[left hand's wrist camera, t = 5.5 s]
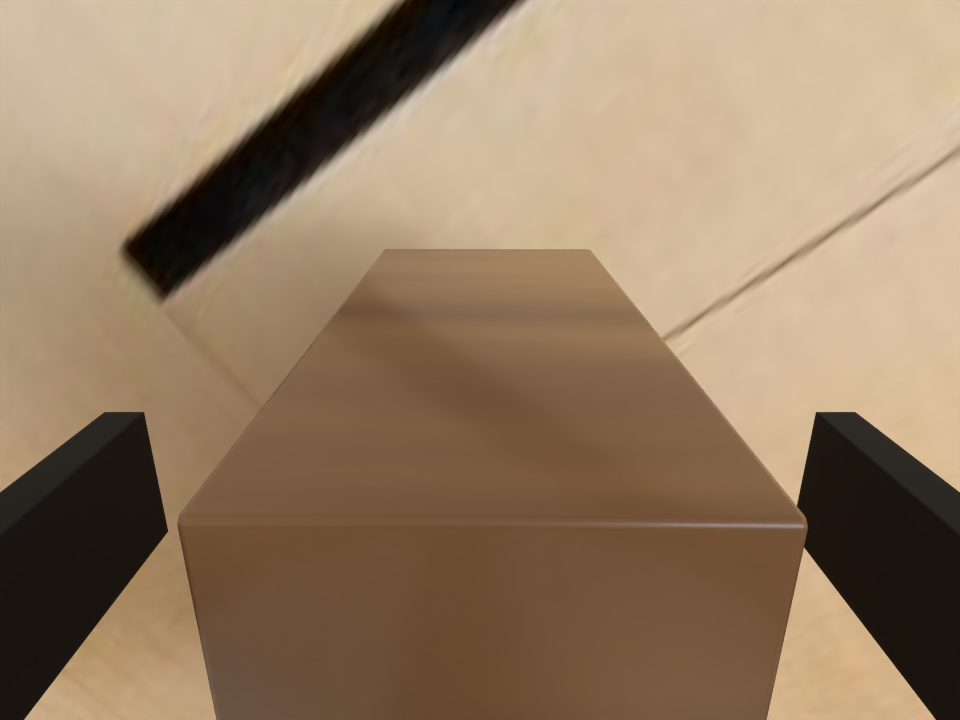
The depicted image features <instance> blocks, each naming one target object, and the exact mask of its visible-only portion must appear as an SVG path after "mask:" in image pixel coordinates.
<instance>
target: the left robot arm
mask: <svg viewBox="0 0 960 720" xmlns="http://www.w3.org/2000/svg"><path fill="white" fill-rule="evenodd" d="M797 507H798V508H799V510H800V511H801V512H802V513H803V515H804V516H805V517H806V521H807V525H808V530H807V535H806V539H805V544H804V548H805V549H806V550H807V552H808V553H809V554H810V556H811V557H812V558H813V560H814V561H815V562H816V563H817V565H818V566H819V567H820V569H821V570H822V571H823V573H824V574H825V575H826V576H827V578H828V579H829V580H830V582H831V583H832V584H833V586H834V587H835V588H836V590H837V591H838V592H839V593H840V595H841V596H842V597H843V599H844V600H845V601H846V603H847V604H848V605H849V607H850V608H851V609H852V610H853V612H854V613H855V614H856V616H857V617H858V618H859V620H860V621H861V622H862V624H863V625H864V626H865V627H866V629H867V630H868V631H869V633H870V634H871V635H872V637H873V638H874V639H875V641H876V642H877V643H878V644H879V646H880V647H881V648H882V650H883V651H884V652H885V654H886V655H887V656H888V658H889V659H890V660H891V661H892V663H893V664H894V665H895V667H896V668H897V669H898V671H899V672H900V673H901V675H902V676H903V677H904V678H905V680H906V681H907V682H908V684H909V685H910V686H911V688H912V689H913V690H914V691H915V693H916V694H917V695H918V697H919V698H920V699H921V701H922V702H923V703H924V705H925V706H926V707H927V708H928V710H929V711H930V712H931V714H932V715H933V716H934V718H935V719H936V720H960V492H958V491H957V490H956V489H955V488H953V487H952V486H951V485H949V484H948V483H947V482H945V481H944V480H943V479H942V478H940V477H939V476H938V475H936V474H935V473H934V472H932V471H931V470H930V469H929V468H927V467H926V466H925V465H923V464H922V463H921V462H919V461H918V460H917V459H916V458H914V457H913V456H912V455H910V454H909V453H908V452H906V451H905V450H904V449H903V448H901V447H900V446H899V445H897V444H896V443H895V442H893V441H892V440H891V439H890V438H888V437H887V436H886V435H884V434H883V433H882V432H880V431H879V430H878V429H877V428H875V427H874V426H873V425H871V424H870V423H869V422H867V421H866V420H865V419H864V418H862V417H861V416H860V415H858V414H857V413H856V412H816V415H815V420H814V425H813V430H812V435H811V440H810V445H809V450H808V455H807V459H806V464H805V469H804V474H803V479H802V484H801V489H800V494H799V499H798V504H797ZM167 532H168V528H167V523H166V518H165V513H164V509H163V504H162V499H161V494H160V489H159V484H158V479H157V474H156V469H155V464H154V459H153V455H152V450H151V445H150V440H149V435H148V430H147V425H146V420H145V415H144V412H104V413H103V414H102V415H100V416H99V417H98V418H96V419H95V420H94V421H93V422H91V423H90V424H89V425H87V426H86V427H85V428H83V429H82V430H81V431H80V432H78V433H77V434H76V435H74V436H73V437H72V438H70V439H69V440H68V441H67V442H65V443H64V444H63V445H61V446H60V447H59V448H57V449H56V450H55V451H54V452H52V453H51V454H50V455H48V456H47V457H46V458H44V459H43V460H42V461H41V462H39V463H38V464H37V465H35V466H34V467H33V468H31V469H30V470H29V471H28V472H26V473H25V474H24V475H22V476H21V477H20V478H18V479H17V480H16V481H15V482H13V483H12V484H11V485H9V486H8V487H7V488H5V489H4V490H3V491H2V492H0V720H24V719H25V718H26V716H27V715H28V714H29V712H30V711H31V710H32V708H33V707H34V706H35V705H36V703H37V702H38V701H39V699H40V698H41V697H42V695H43V694H44V693H45V691H46V690H47V689H48V688H49V686H50V685H51V684H52V682H53V681H54V680H55V678H56V677H57V676H58V675H59V673H60V672H61V671H62V669H63V668H64V667H65V665H66V664H67V663H68V661H69V660H70V659H71V658H72V656H73V655H74V654H75V652H76V651H77V650H78V648H79V647H80V646H81V644H82V643H83V642H84V641H85V639H86V638H87V637H88V635H89V634H90V633H91V631H92V630H93V629H94V627H95V626H96V625H97V624H98V622H99V621H100V620H101V618H102V617H103V616H104V614H105V613H106V612H107V610H108V609H109V608H110V607H111V605H112V604H113V603H114V601H115V600H116V599H117V597H118V596H119V595H120V593H121V592H122V591H123V590H124V588H125V587H126V586H127V584H128V583H129V582H130V580H131V579H132V578H133V576H134V575H135V574H136V573H137V571H138V570H139V569H140V567H141V566H142V565H143V563H144V562H145V561H146V560H147V558H148V557H149V556H150V554H151V553H152V552H153V550H154V549H155V548H156V546H157V545H158V544H159V543H160V541H161V540H162V539H163V537H164V536H165V535H166V533H167Z"/></svg>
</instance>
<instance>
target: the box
mask: <svg viewBox="0 0 960 720" xmlns="http://www.w3.org/2000/svg"><path fill="white" fill-rule="evenodd" d="M178 530H179V535H180V540H181V545H182V550H183V555H184V560H185V565H186V570H187V575H188V580H189V585H190V590H191V595H192V600H193V605H194V610H195V615H196V620H197V625H198V629H199V634H200V639H201V644H202V649H203V654H204V659H205V664H206V669H207V674H208V679H209V684H210V689H211V694H212V699H213V704H214V709H215V714H216V719H217V720H766V719H767V715H768V710H769V705H770V701H771V696H772V692H773V687H774V682H775V678H776V673H777V669H778V664H779V659H780V655H781V650H782V645H783V641H784V636H785V632H786V627H787V622H788V618H789V613H790V608H791V604H792V599H793V595H794V590H795V585H796V581H797V576H798V572H799V567H800V562H801V558H802V553H803V548H804V544H805V539H806V535H807V530H808V525H807V521H806V517H805V516H804V515H803V513H802V512H801V511H800V510H799V508H798V507H797V506H796V505H795V503H794V502H793V501H792V500H791V498H790V497H789V496H788V495H787V494H786V492H785V491H784V490H783V489H782V487H781V486H780V485H779V484H778V482H777V481H776V480H775V479H774V477H773V476H772V475H771V474H770V472H769V471H768V470H767V469H766V467H765V466H764V465H763V464H762V462H761V461H760V460H759V459H758V458H757V456H756V455H755V454H754V453H753V451H752V450H751V449H750V448H749V446H748V445H747V444H746V443H745V441H744V440H743V439H742V438H741V436H740V435H739V434H738V433H737V431H736V430H735V429H734V428H733V426H732V425H731V424H730V423H729V421H728V420H727V419H726V418H725V417H724V415H723V414H722V413H721V412H720V410H719V409H718V408H717V407H716V405H715V404H714V403H713V402H712V400H711V399H710V398H709V397H708V395H707V394H706V393H705V392H704V390H703V389H702V388H701V387H700V385H699V384H698V383H697V382H696V381H695V379H694V378H693V377H692V376H691V374H690V373H689V372H688V371H687V369H686V368H685V367H684V366H683V364H682V363H681V362H680V361H679V359H678V358H677V357H676V356H675V354H674V353H673V352H672V351H671V349H670V348H669V347H668V346H667V345H666V343H665V342H664V341H663V340H662V338H661V337H660V336H659V335H658V333H657V332H656V331H655V330H654V328H653V327H652V326H651V325H650V323H649V322H648V321H647V320H646V318H645V317H644V316H643V315H642V313H641V312H640V311H639V310H638V309H637V307H636V306H635V305H634V304H633V302H632V301H631V300H630V299H629V297H628V296H627V295H626V294H625V292H624V291H623V290H622V289H621V287H620V286H619V285H618V284H617V282H616V281H615V280H614V279H613V277H612V276H611V275H610V274H609V273H608V271H607V270H606V269H605V268H604V266H603V265H602V264H601V263H600V261H599V260H598V259H597V258H596V256H595V255H594V254H593V253H592V251H591V250H487V249H387V250H384V252H383V253H382V254H381V255H380V257H379V258H378V259H377V261H376V262H375V263H374V265H373V266H372V267H371V268H370V270H369V271H368V272H367V274H366V275H365V276H364V277H363V279H362V280H361V281H360V283H359V284H358V285H357V286H356V288H355V289H354V290H353V292H352V293H351V294H350V296H349V297H348V298H347V299H346V301H345V302H344V303H343V305H342V306H341V307H340V308H339V310H338V311H337V312H336V314H335V315H334V316H333V317H332V319H331V320H330V321H329V323H328V324H327V325H326V326H325V328H324V329H323V330H322V332H321V333H320V334H319V336H318V337H317V338H316V339H315V341H314V342H313V343H312V345H311V346H310V347H309V348H308V350H307V351H306V352H305V354H304V355H303V356H302V357H301V359H300V360H299V361H298V363H297V364H296V365H295V367H294V368H293V369H292V370H291V372H290V373H289V374H288V376H287V377H286V378H285V379H284V381H283V382H282V383H281V385H280V386H279V387H278V388H277V390H276V391H275V392H274V394H273V395H272V396H271V398H270V399H269V400H268V401H267V403H266V404H265V405H264V407H263V408H262V409H261V410H260V412H259V413H258V414H257V416H256V417H255V418H254V419H253V421H252V422H251V423H250V425H249V426H248V427H247V428H246V430H245V431H244V432H243V434H242V435H241V436H240V438H239V439H238V440H237V441H236V443H235V444H234V445H233V447H232V448H231V449H230V450H229V452H228V453H227V454H226V456H225V457H224V458H223V459H222V461H221V462H220V463H219V465H218V466H217V467H216V469H215V470H214V471H213V472H212V474H211V475H210V476H209V478H208V479H207V480H206V481H205V483H204V484H203V485H202V487H201V488H200V489H199V490H198V492H197V493H196V494H195V496H194V497H193V498H192V500H191V501H190V502H189V503H188V505H187V506H186V507H185V509H184V510H183V511H182V512H181V514H180V516H179V519H178Z"/></svg>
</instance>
